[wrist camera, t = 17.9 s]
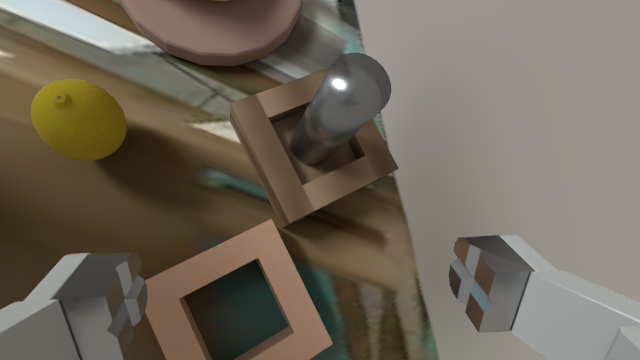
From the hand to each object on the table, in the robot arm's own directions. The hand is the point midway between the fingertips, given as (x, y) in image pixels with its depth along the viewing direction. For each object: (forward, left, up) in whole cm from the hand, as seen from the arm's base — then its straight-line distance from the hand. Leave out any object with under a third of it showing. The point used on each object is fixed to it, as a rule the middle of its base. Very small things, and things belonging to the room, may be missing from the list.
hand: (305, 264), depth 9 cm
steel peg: (+9, +7, -21) cm, 24 cm away
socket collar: (-3, -3, -23) cm, 23 cm away
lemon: (-7, +15, -23) cm, 28 cm away
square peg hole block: (+9, +7, -23) cm, 26 cm away
